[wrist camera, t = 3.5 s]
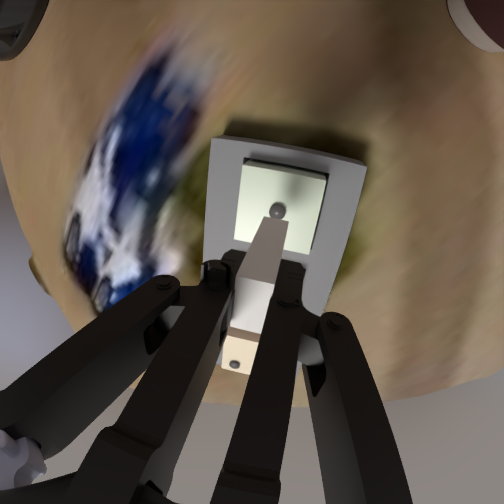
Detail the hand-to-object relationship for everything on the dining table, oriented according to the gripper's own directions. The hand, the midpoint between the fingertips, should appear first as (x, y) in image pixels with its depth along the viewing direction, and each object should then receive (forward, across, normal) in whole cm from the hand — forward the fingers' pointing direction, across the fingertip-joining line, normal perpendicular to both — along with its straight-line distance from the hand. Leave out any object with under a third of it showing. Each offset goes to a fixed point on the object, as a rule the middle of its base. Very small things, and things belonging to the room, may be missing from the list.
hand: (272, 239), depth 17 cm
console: (+9, 0, -8) cm, 12 cm away
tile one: (+7, 0, 0) cm, 7 cm away
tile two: (+7, 0, -17) cm, 18 cm away
